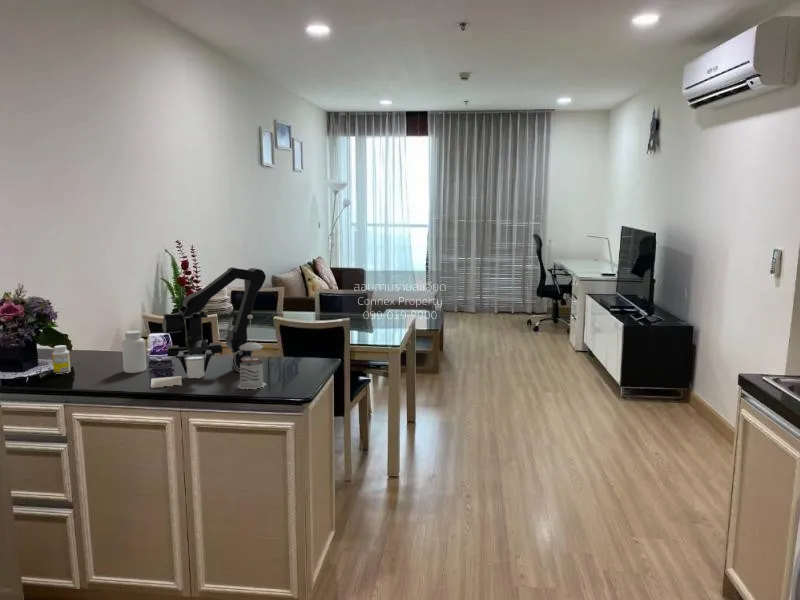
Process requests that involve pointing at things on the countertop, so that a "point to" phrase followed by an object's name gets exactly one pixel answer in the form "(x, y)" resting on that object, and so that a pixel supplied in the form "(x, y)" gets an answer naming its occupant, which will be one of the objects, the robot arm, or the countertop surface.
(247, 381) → the french press
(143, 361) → the pill bottle
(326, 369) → the countertop surface
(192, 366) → the shot glass
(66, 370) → the supplement bottle
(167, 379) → the coaster
